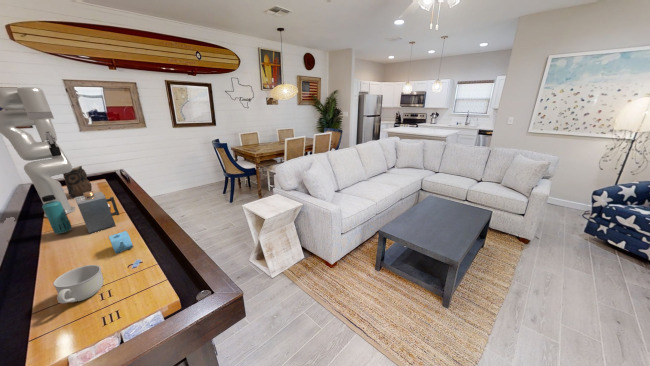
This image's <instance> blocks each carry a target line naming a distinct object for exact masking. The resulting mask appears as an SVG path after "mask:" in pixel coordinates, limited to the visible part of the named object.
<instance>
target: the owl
mask: <svg viewBox="0 0 650 366" xmlns="http://www.w3.org/2000/svg"><path fill="white" fill-rule="evenodd" d="M62 175H63V178H64V182H65V186H66V188H67V192H68V195H69V196H70V197H71V198H72V197H73V199H74V198H75V197H79V196H84V195H83V193H85V192H89V191H92V190H93V189H92V188H93V187H92V183H91V181H90V180H88V175H87V172H86V170H85V169H84V168H83V165H79V166H77V167H72V171H71V172H68V173H64V174H62Z"/></svg>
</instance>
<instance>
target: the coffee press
mask: <svg viewBox="0 0 650 366" xmlns="http://www.w3.org/2000/svg"><path fill="white" fill-rule="evenodd" d="M93 193H94V196H91V197H89V198H88V197H84V196H79V197H75V199H74V200H75V202H76V205H77V207H78V209H79V211H80V214H81V216H82V219H83V221H84V224H85V226H86V228H87V231H88V234H89V235H92V234H95V232H96V233H99V232H102V231H105V230H107V229H111V228H113V227H114V228H115V227H117V224H116V223H115V220H114V217H113V216H120V212H119V209H118V206H117V204H116V201H115V198H114V196H110V198H106V195H105V194H104V193H103V191H97V192H93ZM104 195H105V196H104ZM109 202H111V205H112V208H113V210H114V212H111V210H110V209H109V206H110V205H109V206H108V204H109ZM101 230H102V231H101ZM98 231H99V232H98Z"/></svg>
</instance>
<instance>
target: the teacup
mask: <svg viewBox="0 0 650 366" xmlns="http://www.w3.org/2000/svg"><path fill="white" fill-rule="evenodd" d="M52 284H53V286H54V288H55V290H56V293H57V296H56V299H57V302H58V304H59V303H60V304H67V303H75V302H77V301H78V302H82V301H84V300H85V301H86V300H87V299H89V298H91V297H92V296H94V295H96V293H98V292H99V291H100V290H101V288H102V287H103V285H104V277H103V274H102V269H101V266H100V265H97V264H87V265H83V266H80V267H79V266H78V267H76V268H73V269H70V270H68V271H66V272H64V273H63V274H61V275H59V276H58V277H57V278H55V280H54V281H53V283H52ZM78 302H77V303H78Z"/></svg>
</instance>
